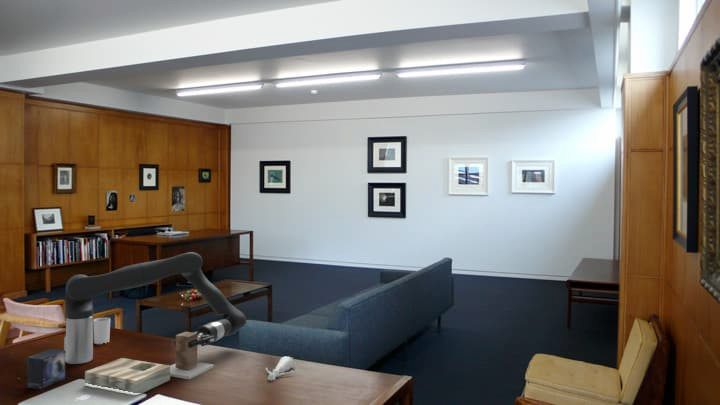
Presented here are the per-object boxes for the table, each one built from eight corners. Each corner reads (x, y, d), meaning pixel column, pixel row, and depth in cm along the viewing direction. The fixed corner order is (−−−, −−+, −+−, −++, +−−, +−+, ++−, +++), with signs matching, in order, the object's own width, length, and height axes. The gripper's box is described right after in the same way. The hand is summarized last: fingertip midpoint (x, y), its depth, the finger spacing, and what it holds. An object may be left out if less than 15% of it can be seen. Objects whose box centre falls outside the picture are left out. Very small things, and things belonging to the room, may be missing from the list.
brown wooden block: (175, 367, 192) (175, 335, 192) (185, 363, 197) (185, 331, 197) (187, 369, 190) (187, 336, 190) (197, 365, 195) (197, 333, 195)
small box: (42, 390, 173) (42, 358, 173) (25, 388, 174) (25, 357, 174) (66, 379, 183) (66, 349, 183) (50, 377, 184) (50, 348, 184)
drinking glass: (113, 341, 229) (113, 318, 229) (100, 345, 223) (100, 322, 223) (103, 339, 232) (103, 316, 232) (89, 343, 226) (89, 320, 226)
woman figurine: (303, 355, 200) (284, 374, 183) (303, 366, 200) (285, 386, 183) (275, 352, 203) (254, 370, 186) (275, 363, 203) (254, 383, 186)
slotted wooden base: (84, 386, 177) (84, 371, 176) (121, 371, 192) (121, 357, 192) (136, 396, 169) (136, 380, 169) (170, 379, 184) (170, 365, 184)
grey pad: (157, 373, 190) (157, 371, 190) (183, 362, 203) (183, 359, 203) (189, 379, 185) (189, 376, 185) (213, 367, 198) (213, 364, 198)
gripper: (195, 321, 209) (166, 332, 193) (225, 325, 204) (198, 336, 188) (195, 340, 209) (166, 352, 194) (225, 344, 204) (198, 357, 189)
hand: (182, 344), depth 191 cm, fingers open, 5 cm apart
